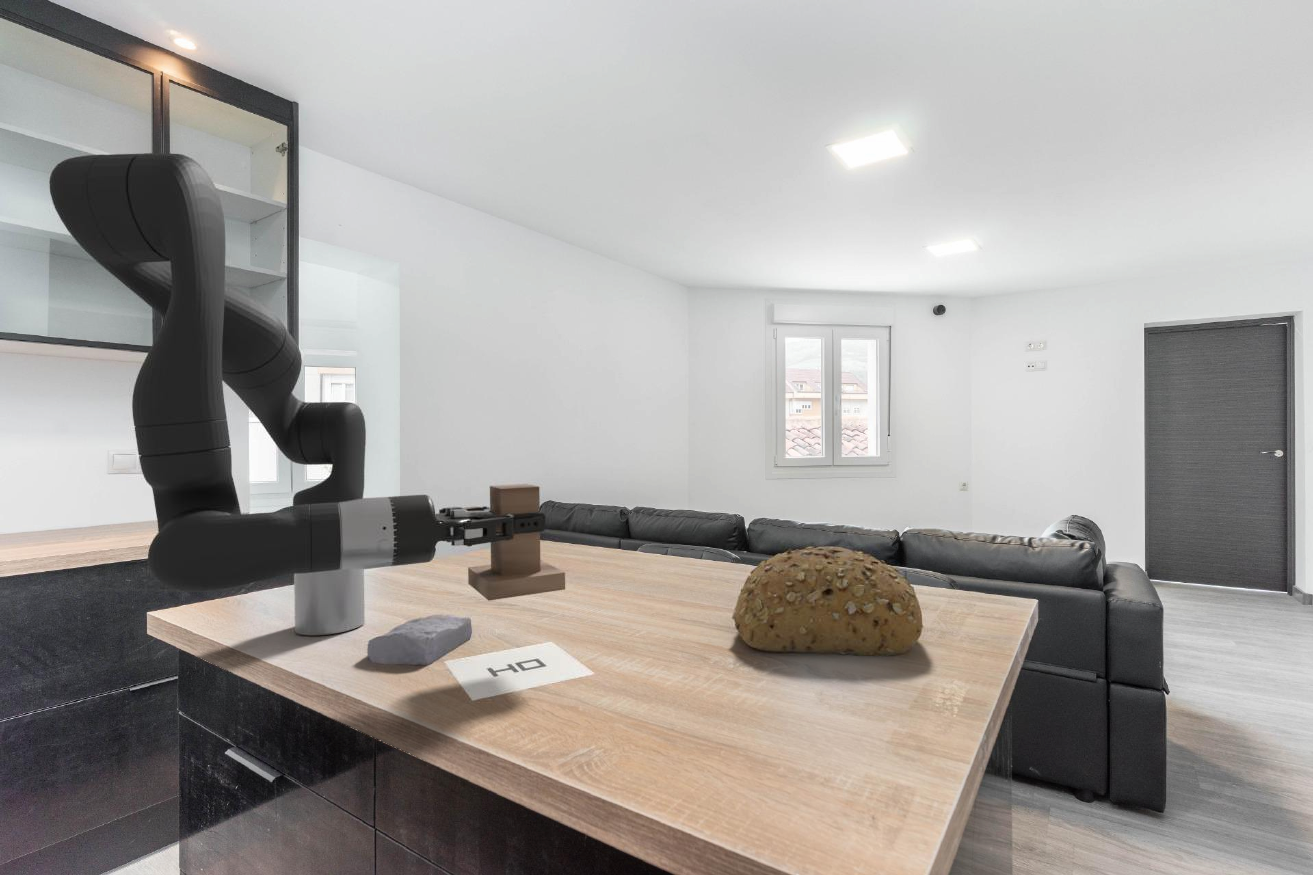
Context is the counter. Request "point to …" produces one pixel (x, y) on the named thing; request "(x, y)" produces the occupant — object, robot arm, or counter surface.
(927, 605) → the counter surface
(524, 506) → the walnut stamp
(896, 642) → the bread
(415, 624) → the stone block
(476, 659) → the tile
